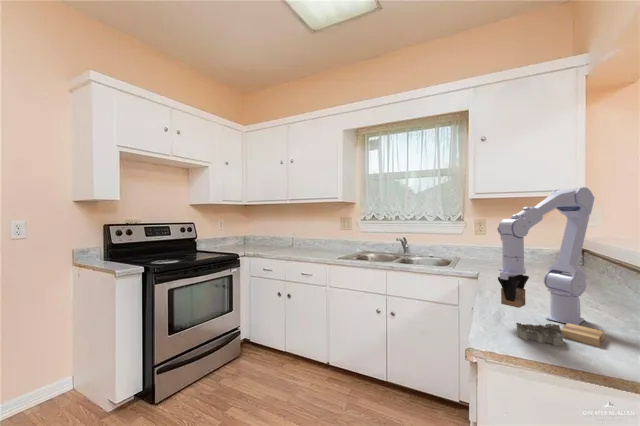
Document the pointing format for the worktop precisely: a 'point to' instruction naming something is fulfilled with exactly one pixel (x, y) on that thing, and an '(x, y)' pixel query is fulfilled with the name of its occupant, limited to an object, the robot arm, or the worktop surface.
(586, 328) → the board
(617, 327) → the worktop surface
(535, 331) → the egg carton
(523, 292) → the walnut cube
